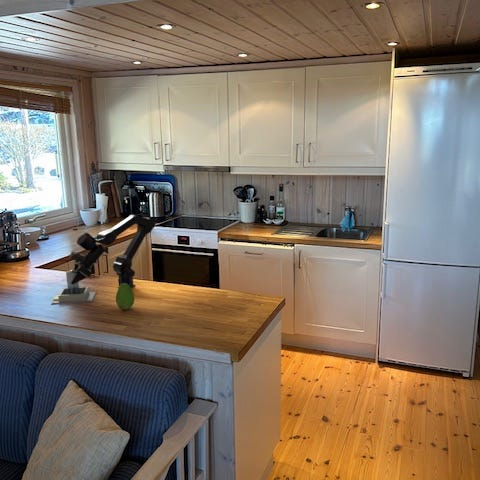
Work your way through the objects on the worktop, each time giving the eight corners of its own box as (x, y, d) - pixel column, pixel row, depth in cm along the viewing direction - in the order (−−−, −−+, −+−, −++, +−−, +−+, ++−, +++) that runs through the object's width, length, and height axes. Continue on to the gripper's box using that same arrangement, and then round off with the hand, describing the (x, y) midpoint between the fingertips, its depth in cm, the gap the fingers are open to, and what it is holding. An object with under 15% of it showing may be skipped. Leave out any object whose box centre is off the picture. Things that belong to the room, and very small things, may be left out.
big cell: (80, 295, 229) (78, 268, 226) (79, 298, 224) (76, 271, 222) (69, 295, 228) (66, 269, 226) (67, 299, 223) (64, 272, 221)
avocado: (125, 313, 205) (123, 286, 203) (112, 310, 209) (110, 283, 207) (139, 307, 212) (137, 281, 209) (126, 304, 216) (124, 279, 213)
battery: (95, 274, 267) (93, 256, 265) (82, 275, 264) (80, 258, 262) (94, 272, 271) (92, 255, 269) (81, 273, 268) (80, 256, 266)
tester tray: (95, 292, 234) (95, 285, 233) (92, 301, 221) (91, 294, 221) (57, 295, 231) (56, 288, 231) (51, 304, 219) (50, 296, 218)
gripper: (77, 241, 231) (55, 266, 229) (81, 248, 214) (57, 276, 212) (95, 255, 236) (74, 279, 234) (101, 263, 219) (78, 290, 217)
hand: (70, 281), depth 224 cm, fingers open, 9 cm apart
